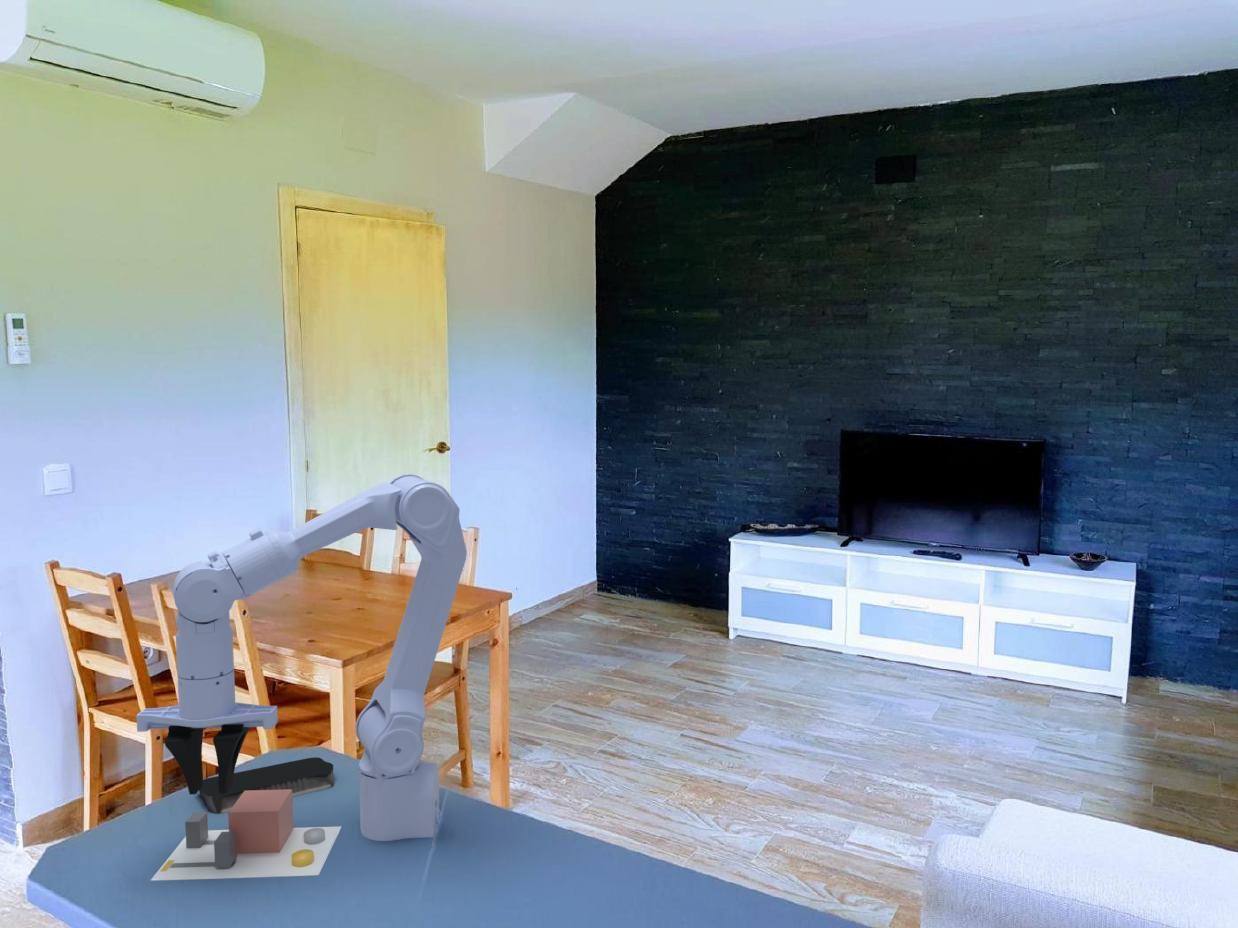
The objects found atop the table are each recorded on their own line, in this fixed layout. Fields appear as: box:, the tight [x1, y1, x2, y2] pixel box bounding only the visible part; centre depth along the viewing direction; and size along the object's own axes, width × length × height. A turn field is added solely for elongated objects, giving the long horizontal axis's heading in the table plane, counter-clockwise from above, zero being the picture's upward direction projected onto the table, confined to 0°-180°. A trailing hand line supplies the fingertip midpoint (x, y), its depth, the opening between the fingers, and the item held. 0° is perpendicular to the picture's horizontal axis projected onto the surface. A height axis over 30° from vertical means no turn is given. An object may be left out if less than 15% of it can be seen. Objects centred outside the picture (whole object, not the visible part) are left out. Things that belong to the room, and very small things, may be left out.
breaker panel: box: [150, 811, 342, 882], centre depth 107 cm, size 18×11×4 cm, turn 94°
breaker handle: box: [214, 831, 237, 868], centre depth 104 cm, size 2×2×3 cm
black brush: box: [198, 756, 335, 815], centre depth 123 cm, size 16×8×4 cm, turn 122°
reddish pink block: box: [227, 789, 294, 854], centre depth 109 cm, size 6×6×5 cm
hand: (211, 789), depth 103 cm, fingers open, 3 cm apart
